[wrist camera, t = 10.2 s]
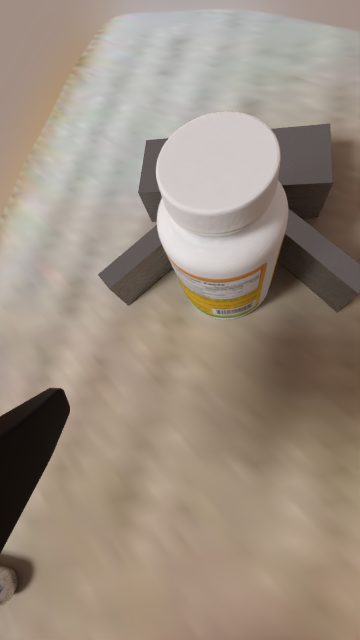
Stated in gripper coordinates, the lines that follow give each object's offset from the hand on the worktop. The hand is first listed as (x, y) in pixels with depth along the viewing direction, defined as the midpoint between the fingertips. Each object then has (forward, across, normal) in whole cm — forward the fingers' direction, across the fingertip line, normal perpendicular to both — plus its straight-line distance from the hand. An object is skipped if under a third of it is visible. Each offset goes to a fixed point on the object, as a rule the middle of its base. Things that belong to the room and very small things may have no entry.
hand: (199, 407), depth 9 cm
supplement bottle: (+11, 0, 0) cm, 11 cm away
